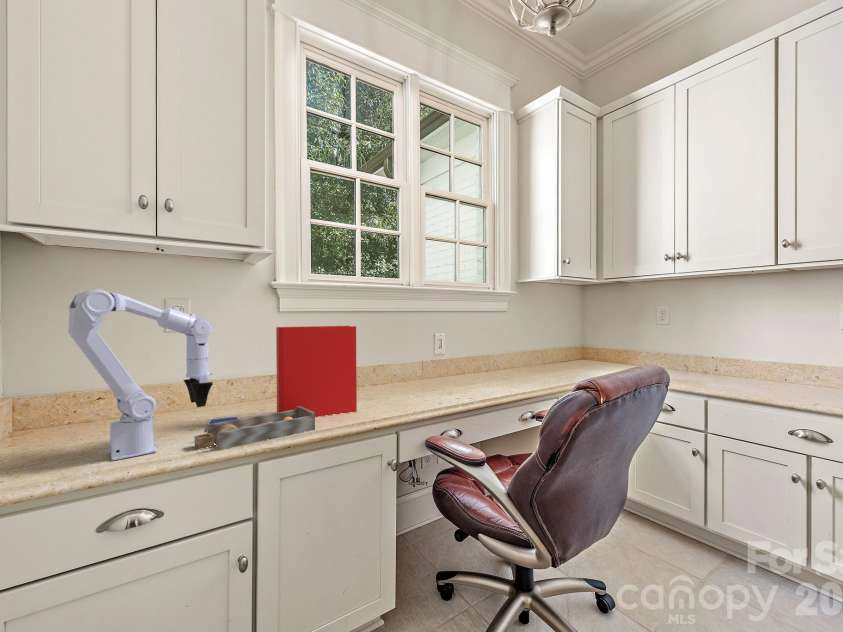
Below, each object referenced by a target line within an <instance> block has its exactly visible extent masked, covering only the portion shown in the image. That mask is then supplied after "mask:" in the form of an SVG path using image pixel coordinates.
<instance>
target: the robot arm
mask: <svg viewBox="0 0 843 632" xmlns="http://www.w3.org/2000/svg"><path fill="white" fill-rule="evenodd" d="M179 309H180V308H178V307H176V306H173V307H165V308H163V309H162V308H161V309H160V308H157V306H156V307H155V306H153V305H150V304H147V303H145V302H142V301H140V300H137V299H135V298H132V297H129V296H128V295H123V294H120V293H116V292H108V291H107V290H104V289H100V288H95V289H90V290H83V291H80V292H78V293H76V295H75V296H73V299H72V301H71V302H70V303H69V305H68V311H69V313H68V314H69V318H68V327H67V328H68V329H67V330H68V334H69V336H70V337H71V339H72V340H73V341H74V343H75V344H76V345H77V346H78V348H79V349H80V350H81V352H82V353H83V354H84V356H85V357H86V358H87V360H88V361H89V362H90V363H91V365H92V366H93V368H94V369H95V370H96V372H97V373H98V374H99V375H100V377H101V378H102V379H103V381H104V382H105V383H106V385H107V386H108V387H109V389H110V390H111V391H112V394H113V398H115V400H116V402H117V409H118V411H119V412H120V413H121V415H120V417H119V420H118V421H113V422H110V424H109V445H108V452H109V454H110V458H111V461H117V460H122V459H123V460H124V459H127V458H131V457H137V456H138V457H139V456H141V455H143V456H144V455H147V454H153V452H154V453H157V452H158V449H157V447H156V446H155V444H154V443H155V442H154V441H155V440H154V413H155V412H156V410H157V401H156V399H155V398H154V397H152V396H151V395H148V394H147V393H145V392H144V390H143V389H142V388H141V387H140V385H138V384H136V382H135V381H134V380H133V378H132V377H131V376H130V374H129V373H128V371H127V370H126V369H125V367H124V366H123V364H122V363H121V362H120V361H119V359H118V358H117V356H116V355H115V353H114V352H113V351H112V349H111V348H110V347H109V345H108V344H107V342H106V341H105V339H104V338H103V336H101V334H100V333H99V332H98V331H99V328H100V326H101V324H102V322H103V319H105V317H106V316H107V315H109V313H111V312H125V313H126V312H127V313H131V314H134V315H136V316H137V315H138V316H140V317H143V318H148V319H151V320H154V321H156V322H157V324H158V326H159V327H161V328H164V329H167V330H171V331H174V332H177V333H179V334H184V335H185V336H186V374H185V377H186V378H187V379H183V383H184V384H185V386H186V388H187V391H188V395H189V400H190V402H191V403H195V405H196V408H202V407H203V408H204V407H206V406H207V403H208V402H207V401H208V396H209V393H210V390H211V388H212V387H213V384H214V382H213V381H209V382H208V379H209V378H208V377H209V376H212V375H214V372H213V371H210V366H209V365H210V360H209V359H210V357H209V356H210V350H209V348H210V347H209V346H210V344H209V342H210V341H209V338H210V337H209V336H210V335H211V333H213V328H214V327H212V325H211V323H210V322H209V320H208V319H205V318H202V317H201V318H200V317H198V318H197V317H196V314H194V313H190V314H189V313H186V312H183V311H181V310H179ZM188 378H189V379H188Z"/></svg>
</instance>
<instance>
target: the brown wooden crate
mask: <svg viewBox="0 0 843 632" xmlns="http://www.w3.org/2000/svg"><path fill="white" fill-rule="evenodd" d="M195 446H196V447H195ZM210 446H214V447H215V445H214V436H213V435H212V434H211V433H208V434H207V433H204V434H196V435H194V447H195V449H196V450H197V449H201V448H205V449H207V448H206V447H210ZM210 448H211V447H210ZM201 450H202V449H201Z"/></svg>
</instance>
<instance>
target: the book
mask: <svg viewBox="0 0 843 632" xmlns="http://www.w3.org/2000/svg"><path fill="white" fill-rule="evenodd" d="M275 328H276V329H275V330H276V335H275V337H276V339H275V340H276V341H275V342H276V343H275V344H276V348H275V349H276V351H275V352H276V354H275V355H276V413H278V412H284V411H290V410H296V409H297V406H301V407H303V408H306V409H308V410H310V411H313V412H315V418H317V417H318V418H320V417H326V416H325V415H328V416H334V415H333V414H336V415H341V414H340V413H345V414H350V413H349V412H353V413H358V409H357V407H358V406H357V403H358V402H357V399H358V398H357V395H358V394H357V387H358V386H357V382H358V381H357V326H356V325H354V326H353V325H352V326H351V325H323V326H322V325H320V326H319V325H317V326H311V325H310V326H278V327H277V326H276V327H275ZM319 416H320V417H319Z"/></svg>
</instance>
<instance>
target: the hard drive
mask: <svg viewBox="0 0 843 632" xmlns="http://www.w3.org/2000/svg"><path fill="white" fill-rule="evenodd" d="M237 419H238V416H230V417H219V418H212V419H211V420H209V423H208V424H213V423H219V422H225V421H231V420H237ZM205 431H207V428H206V430H205Z"/></svg>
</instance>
